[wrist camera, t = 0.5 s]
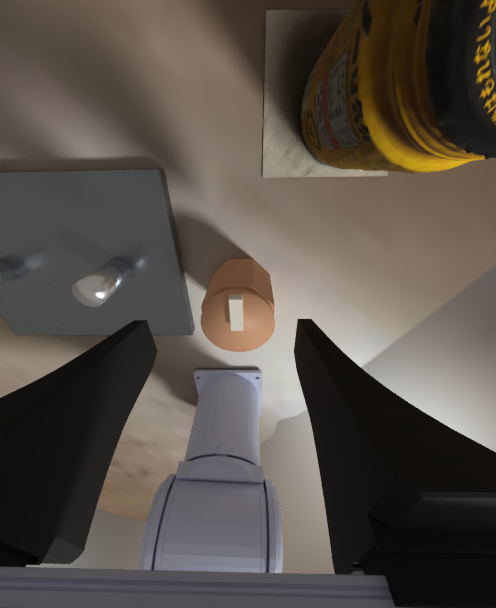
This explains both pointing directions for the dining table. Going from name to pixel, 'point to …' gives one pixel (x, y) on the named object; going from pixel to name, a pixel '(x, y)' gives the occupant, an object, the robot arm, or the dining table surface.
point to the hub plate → (90, 253)
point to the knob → (238, 306)
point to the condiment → (379, 88)
